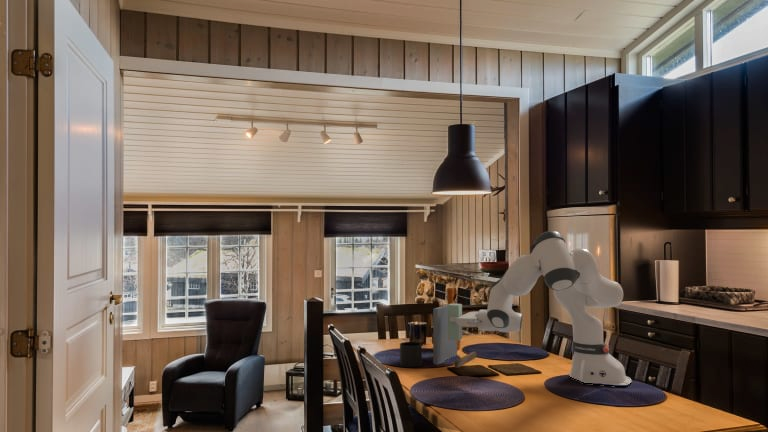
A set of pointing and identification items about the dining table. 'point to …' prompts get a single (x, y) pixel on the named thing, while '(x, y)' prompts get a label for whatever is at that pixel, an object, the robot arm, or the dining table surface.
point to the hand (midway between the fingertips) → (452, 318)
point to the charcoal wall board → (445, 340)
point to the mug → (410, 354)
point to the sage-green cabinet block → (453, 329)
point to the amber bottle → (450, 300)
